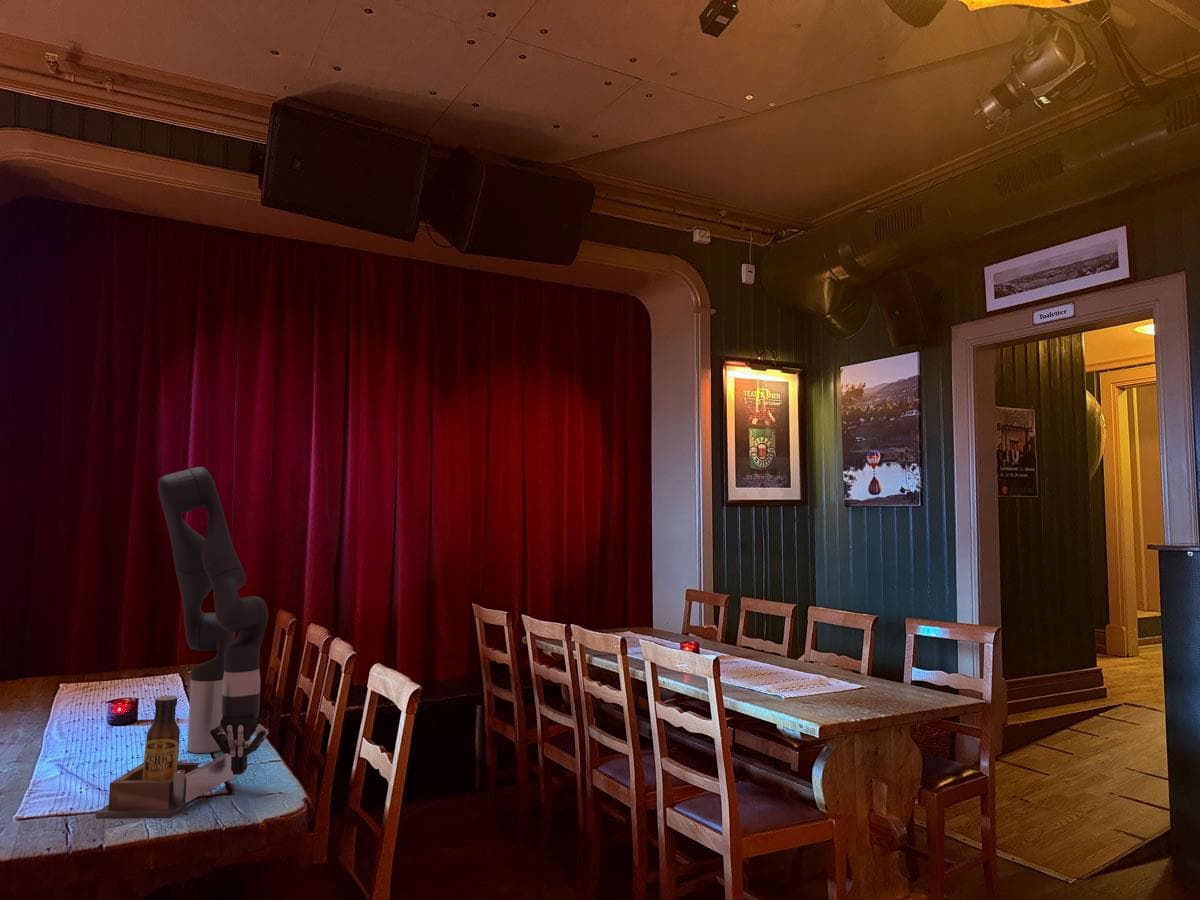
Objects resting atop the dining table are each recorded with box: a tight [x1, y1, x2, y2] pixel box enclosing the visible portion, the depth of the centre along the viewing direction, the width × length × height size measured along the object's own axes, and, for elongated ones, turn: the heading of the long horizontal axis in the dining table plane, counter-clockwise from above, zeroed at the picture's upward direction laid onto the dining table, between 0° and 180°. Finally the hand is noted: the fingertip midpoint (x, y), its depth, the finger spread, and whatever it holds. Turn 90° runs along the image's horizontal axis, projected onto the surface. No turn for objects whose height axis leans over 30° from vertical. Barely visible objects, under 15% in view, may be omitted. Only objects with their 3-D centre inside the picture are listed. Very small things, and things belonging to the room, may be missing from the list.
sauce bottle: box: [142, 695, 181, 793], centre depth 167 cm, size 6×6×20 cm
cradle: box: [95, 762, 199, 819], centre depth 166 cm, size 16×14×6 cm
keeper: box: [172, 753, 236, 807], centre depth 169 cm, size 19×2×6 cm, turn 171°
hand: (239, 773), depth 175 cm, fingers closed
